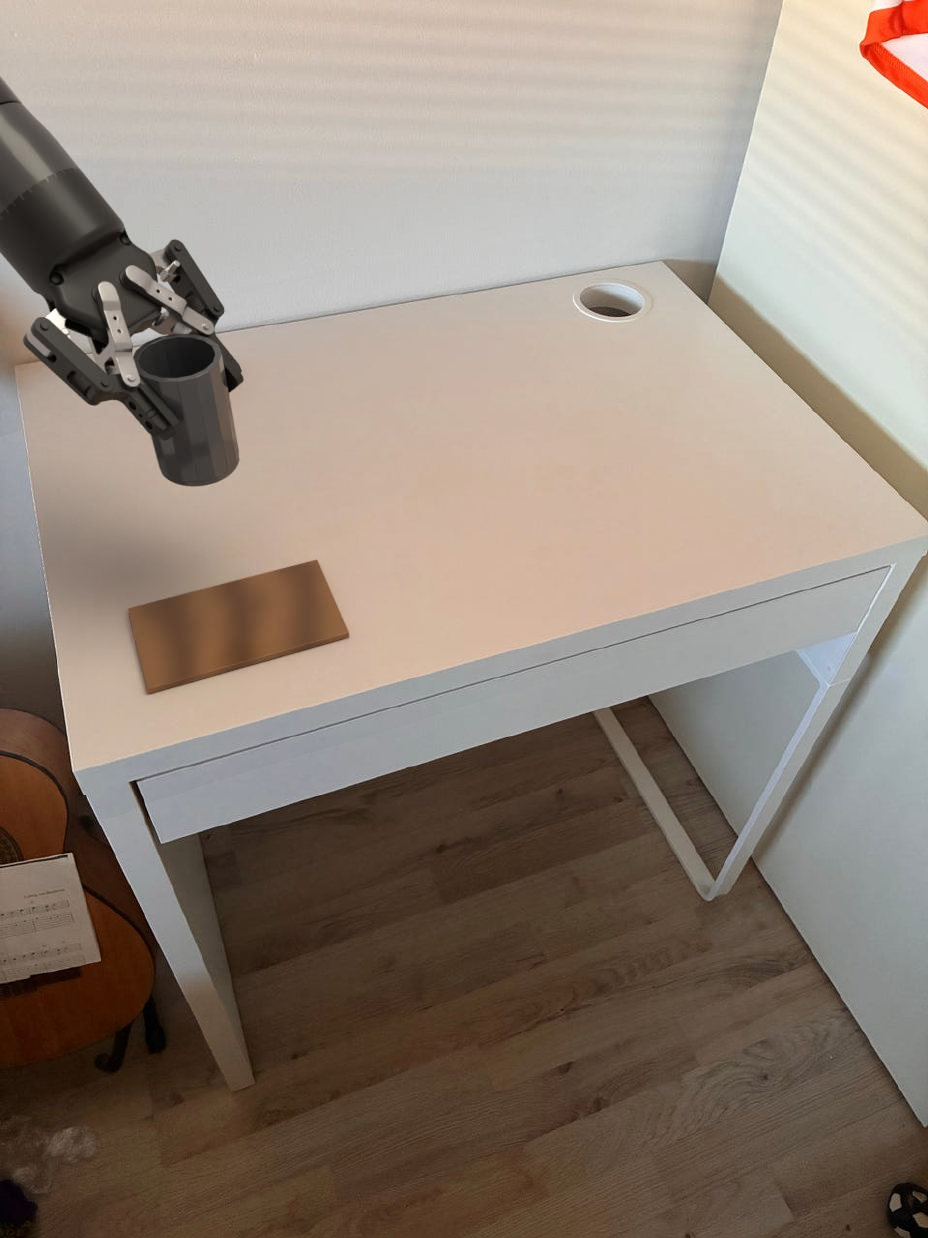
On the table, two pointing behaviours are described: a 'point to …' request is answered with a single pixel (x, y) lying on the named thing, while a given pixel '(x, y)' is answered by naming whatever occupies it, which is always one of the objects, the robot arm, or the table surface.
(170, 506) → the table surface
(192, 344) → the open gray tube
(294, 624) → the plate
